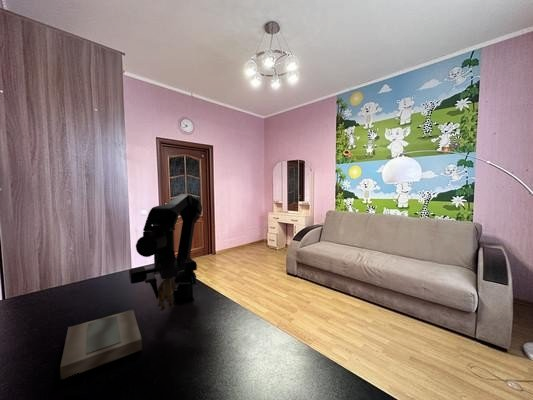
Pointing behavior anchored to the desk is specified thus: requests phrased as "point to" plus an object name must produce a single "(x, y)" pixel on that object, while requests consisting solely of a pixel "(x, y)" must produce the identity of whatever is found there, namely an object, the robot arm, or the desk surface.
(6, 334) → the desk surface
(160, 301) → the lion figurine
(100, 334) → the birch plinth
